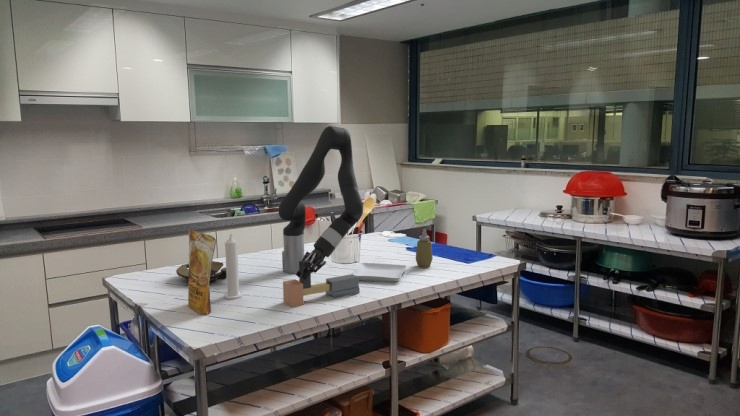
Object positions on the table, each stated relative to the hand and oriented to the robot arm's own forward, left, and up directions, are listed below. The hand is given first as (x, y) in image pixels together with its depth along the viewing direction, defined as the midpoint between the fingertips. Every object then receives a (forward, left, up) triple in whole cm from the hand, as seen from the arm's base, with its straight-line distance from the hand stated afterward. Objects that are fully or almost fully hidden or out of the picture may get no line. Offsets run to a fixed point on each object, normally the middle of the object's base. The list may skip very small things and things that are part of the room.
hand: (300, 277), depth 198 cm
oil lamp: (-50, +19, -10) cm, 54 cm away
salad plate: (+22, +41, -10) cm, 47 cm away
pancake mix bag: (-33, -14, -10) cm, 37 cm away
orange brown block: (-2, -2, -10) cm, 10 cm away
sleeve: (+13, +13, -10) cm, 20 cm away
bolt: (+4, +4, -7) cm, 9 cm away
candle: (-28, +1, -10) cm, 30 cm away
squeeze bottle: (+39, +62, -10) cm, 74 cm away
